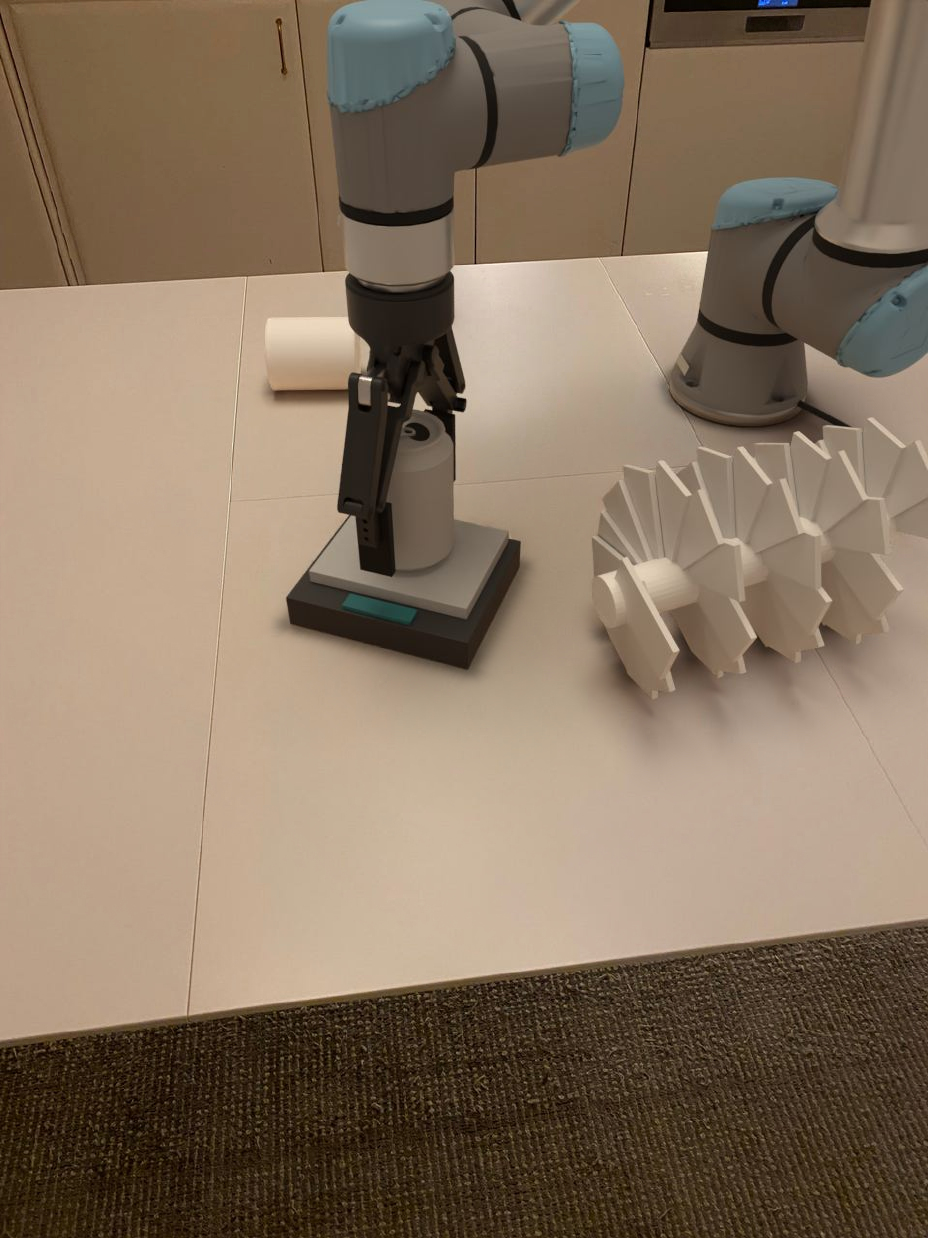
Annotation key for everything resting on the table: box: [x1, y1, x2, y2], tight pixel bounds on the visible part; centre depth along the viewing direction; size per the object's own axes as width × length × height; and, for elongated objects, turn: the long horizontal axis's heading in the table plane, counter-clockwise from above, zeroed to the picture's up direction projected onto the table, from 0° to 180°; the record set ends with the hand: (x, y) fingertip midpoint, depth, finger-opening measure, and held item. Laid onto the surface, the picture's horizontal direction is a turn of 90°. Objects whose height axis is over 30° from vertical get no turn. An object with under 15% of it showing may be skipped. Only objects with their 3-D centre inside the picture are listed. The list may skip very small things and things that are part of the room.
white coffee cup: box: [263, 316, 362, 391], centre depth 110 cm, size 12×10×8 cm
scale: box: [285, 515, 522, 670], centre depth 82 cm, size 16×14×4 cm
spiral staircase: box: [590, 417, 928, 700], centre depth 74 cm, size 18×18×25 cm
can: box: [386, 408, 455, 572], centre depth 77 cm, size 8×8×12 cm
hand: (410, 522), depth 79 cm, fingers open, 13 cm apart
